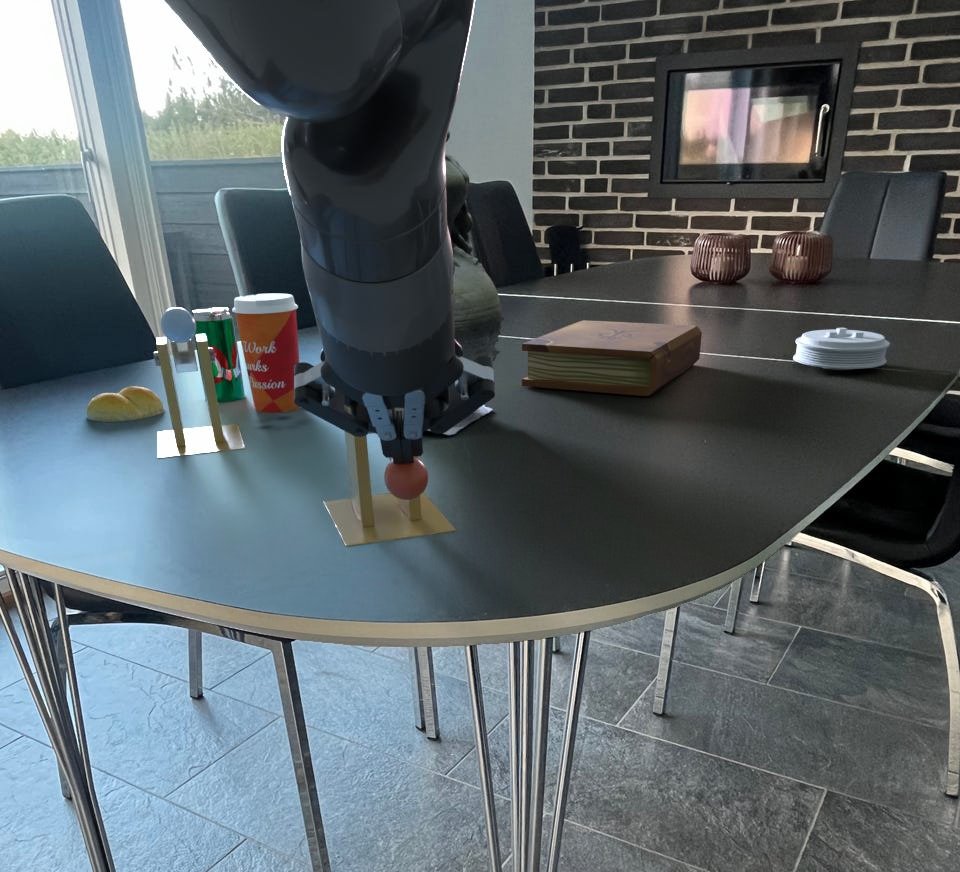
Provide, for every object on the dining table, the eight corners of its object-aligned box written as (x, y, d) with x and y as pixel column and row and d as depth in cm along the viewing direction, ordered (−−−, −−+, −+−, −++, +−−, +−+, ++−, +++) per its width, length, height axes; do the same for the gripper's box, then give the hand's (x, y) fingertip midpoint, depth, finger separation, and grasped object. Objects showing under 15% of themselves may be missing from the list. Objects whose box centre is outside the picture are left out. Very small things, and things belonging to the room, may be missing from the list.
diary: (654, 398, 111) (657, 352, 109) (521, 387, 119) (521, 343, 116) (698, 365, 129) (702, 324, 127) (581, 357, 137) (582, 318, 134)
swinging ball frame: (457, 543, 70) (451, 396, 64) (346, 560, 67) (330, 408, 62) (422, 501, 79) (414, 368, 73) (324, 514, 77) (308, 378, 71)
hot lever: (432, 505, 63) (434, 469, 61) (389, 511, 63) (390, 475, 60) (393, 415, 71) (393, 380, 69) (354, 419, 70) (353, 384, 68)
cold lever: (198, 334, 81) (191, 300, 81) (162, 337, 80) (156, 303, 80) (203, 374, 93) (198, 345, 92) (172, 377, 92) (167, 347, 92)
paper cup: (236, 417, 108) (217, 298, 101) (286, 405, 113) (271, 291, 106) (273, 427, 103) (255, 303, 97) (324, 414, 108) (310, 295, 102)
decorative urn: (298, 431, 101) (253, 77, 85) (381, 391, 119) (358, 90, 102) (464, 446, 94) (451, 63, 78) (526, 401, 112) (527, 80, 95)
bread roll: (79, 423, 107) (71, 390, 106) (148, 410, 113) (142, 378, 111) (105, 435, 102) (97, 401, 100) (177, 420, 107) (170, 388, 105)
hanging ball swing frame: (247, 459, 92) (229, 344, 86) (159, 469, 90) (134, 351, 84) (239, 433, 101) (222, 328, 96) (159, 442, 99) (137, 334, 93)
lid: (845, 355, 133) (850, 321, 130) (904, 370, 122) (912, 334, 120) (774, 362, 130) (779, 327, 127) (829, 379, 119) (836, 341, 117)
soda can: (233, 400, 116) (218, 305, 111) (253, 405, 113) (239, 309, 108) (199, 407, 113) (182, 310, 108) (219, 413, 110) (202, 313, 104)
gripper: (253, 353, 44) (311, 504, 60) (512, 344, 44) (499, 496, 61) (255, 232, 46) (311, 409, 63) (503, 224, 46) (493, 402, 63)
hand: (404, 452), depth 62 cm, fingers closed
